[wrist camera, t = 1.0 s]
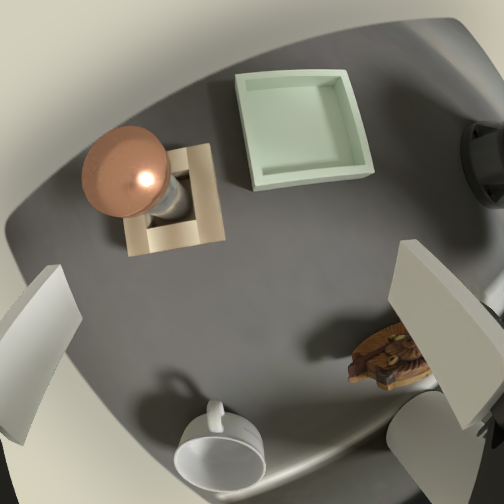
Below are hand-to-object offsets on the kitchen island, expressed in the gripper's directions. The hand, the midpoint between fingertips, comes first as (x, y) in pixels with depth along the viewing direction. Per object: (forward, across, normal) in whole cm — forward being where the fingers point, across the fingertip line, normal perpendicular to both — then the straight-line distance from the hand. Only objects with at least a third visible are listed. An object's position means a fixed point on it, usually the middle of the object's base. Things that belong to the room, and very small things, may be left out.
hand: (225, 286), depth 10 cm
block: (+24, +7, +4) cm, 25 cm away
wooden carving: (+17, -19, +22) cm, 33 cm away
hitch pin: (+23, +7, +4) cm, 24 cm away
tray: (+28, -8, -3) cm, 29 cm away
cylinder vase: (+9, -27, +37) cm, 47 cm away
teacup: (+11, +4, +30) cm, 33 cm away
